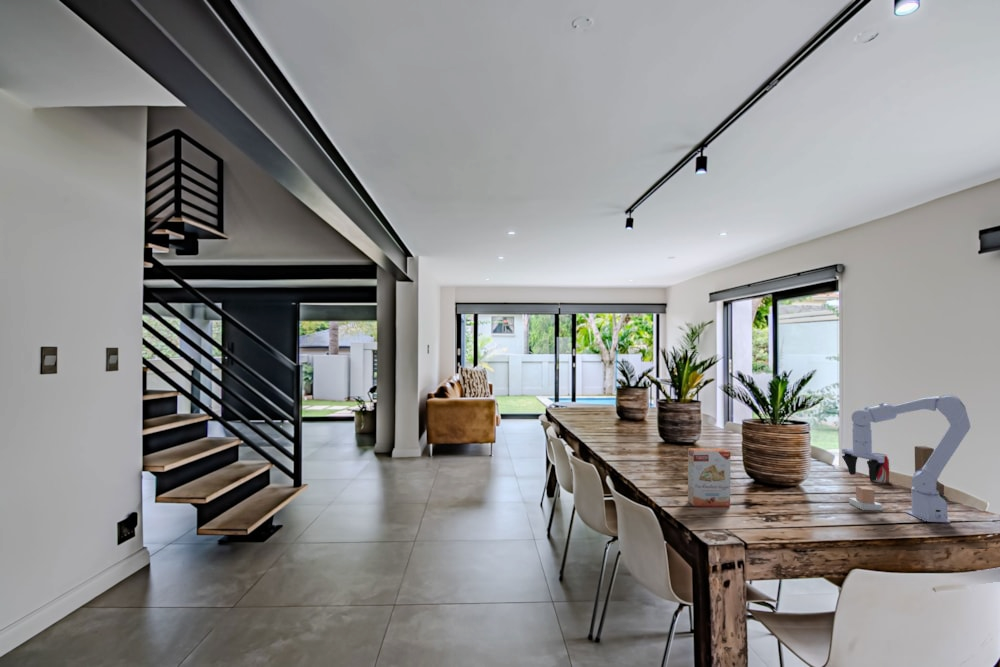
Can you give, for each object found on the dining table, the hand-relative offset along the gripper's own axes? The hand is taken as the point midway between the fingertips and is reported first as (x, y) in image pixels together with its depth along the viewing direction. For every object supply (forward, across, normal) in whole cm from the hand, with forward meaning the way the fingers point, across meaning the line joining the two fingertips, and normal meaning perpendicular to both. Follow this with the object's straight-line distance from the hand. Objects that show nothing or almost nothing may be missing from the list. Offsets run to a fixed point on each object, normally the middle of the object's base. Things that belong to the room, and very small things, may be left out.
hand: (862, 477), depth 176 cm
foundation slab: (+11, -2, +1) cm, 11 cm away
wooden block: (+11, +4, -42) cm, 44 cm away
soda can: (+11, +21, -38) cm, 44 cm away
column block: (+8, -2, +1) cm, 9 cm away
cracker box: (+11, +16, +56) cm, 60 cm away
